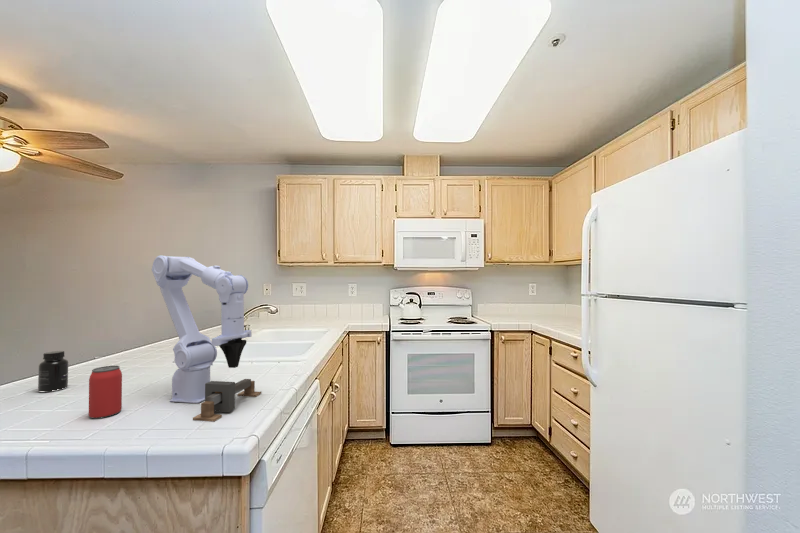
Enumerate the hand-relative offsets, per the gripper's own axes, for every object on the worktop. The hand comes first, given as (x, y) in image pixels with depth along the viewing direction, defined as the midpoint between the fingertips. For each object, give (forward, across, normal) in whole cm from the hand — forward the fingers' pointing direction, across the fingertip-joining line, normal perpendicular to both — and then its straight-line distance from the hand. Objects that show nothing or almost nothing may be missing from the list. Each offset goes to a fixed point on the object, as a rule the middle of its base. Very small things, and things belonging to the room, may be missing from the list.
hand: (233, 367), depth 96 cm
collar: (+10, -5, +1) cm, 11 cm away
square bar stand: (+10, -1, +1) cm, 10 cm away
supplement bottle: (+9, +4, +68) cm, 68 cm away
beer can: (+10, -11, +30) cm, 33 cm away
